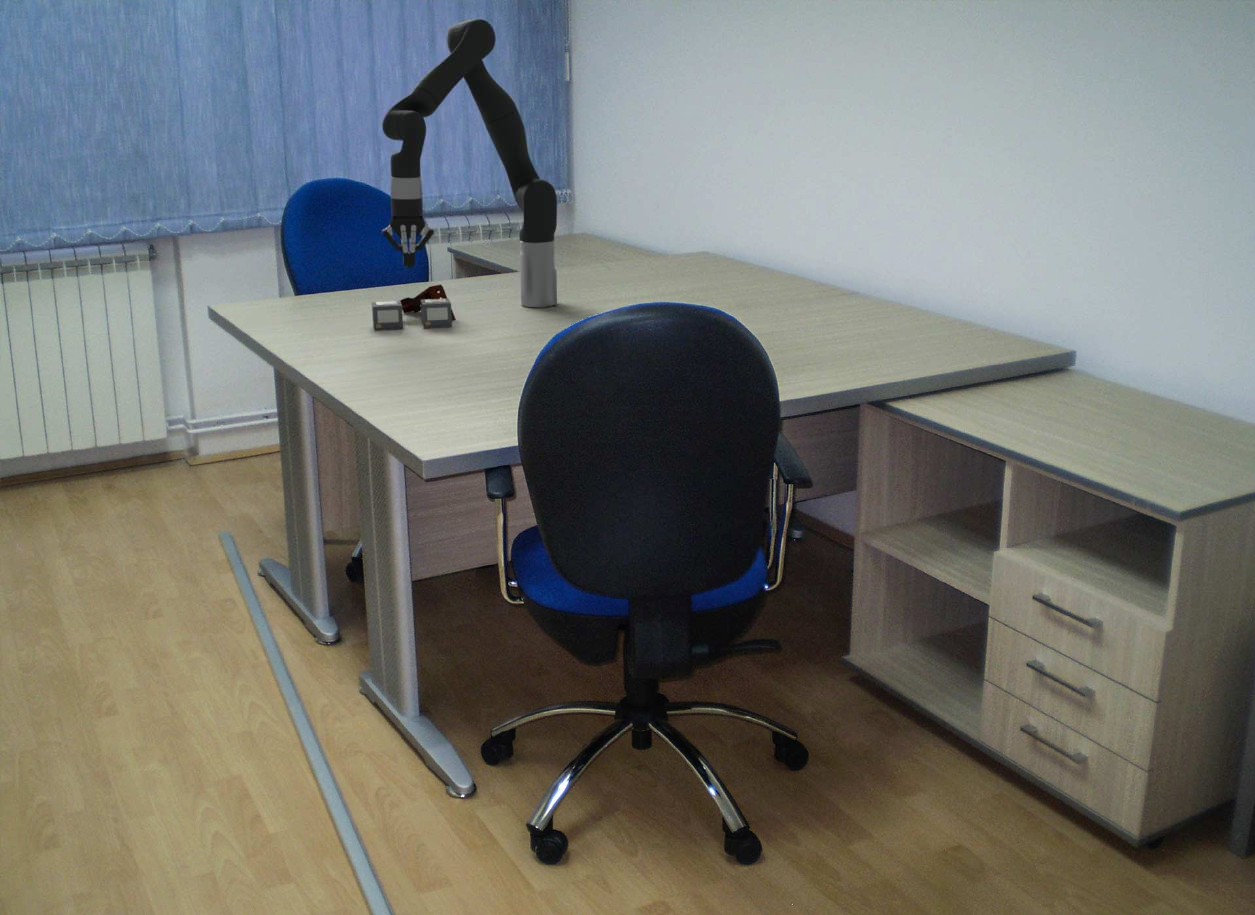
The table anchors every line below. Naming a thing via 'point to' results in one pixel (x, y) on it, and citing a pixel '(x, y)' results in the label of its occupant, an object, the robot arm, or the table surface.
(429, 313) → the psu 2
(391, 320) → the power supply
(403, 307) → the bracket
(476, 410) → the table surface
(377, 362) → the table surface
